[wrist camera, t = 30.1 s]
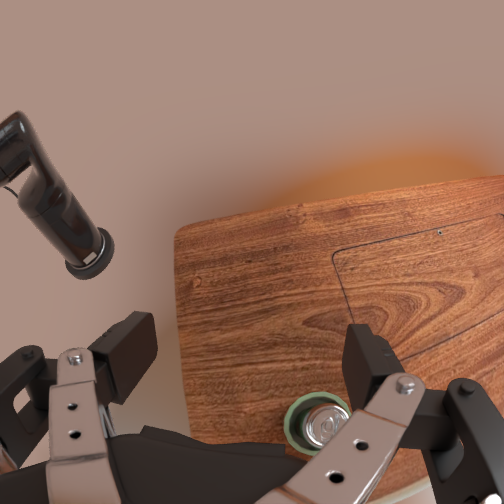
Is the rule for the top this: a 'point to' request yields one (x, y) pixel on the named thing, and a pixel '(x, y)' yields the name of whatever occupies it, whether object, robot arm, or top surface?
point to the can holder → (296, 408)
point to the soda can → (320, 423)
